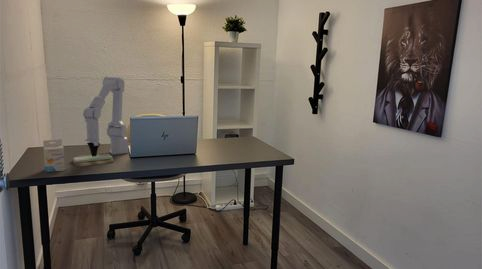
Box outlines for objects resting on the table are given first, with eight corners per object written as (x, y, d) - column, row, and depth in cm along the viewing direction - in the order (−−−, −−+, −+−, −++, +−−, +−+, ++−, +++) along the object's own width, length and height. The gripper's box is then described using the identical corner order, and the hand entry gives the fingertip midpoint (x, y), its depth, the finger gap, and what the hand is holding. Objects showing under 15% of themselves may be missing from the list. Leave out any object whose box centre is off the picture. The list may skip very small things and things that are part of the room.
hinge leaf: (108, 155, 201) (107, 152, 201) (112, 159, 193) (112, 156, 193) (73, 159, 191) (72, 156, 191) (76, 163, 183) (75, 160, 183)
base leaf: (108, 156, 201) (107, 152, 201) (113, 162, 192) (113, 157, 191) (73, 160, 191) (72, 156, 191) (76, 166, 182) (76, 161, 182)
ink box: (45, 172, 171) (43, 142, 168) (44, 169, 175) (42, 140, 172) (65, 170, 176) (63, 141, 173) (63, 167, 180) (62, 138, 177)
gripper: (81, 128, 190) (83, 153, 192) (87, 134, 178) (88, 160, 181) (96, 127, 193) (97, 152, 196) (102, 133, 182) (103, 158, 184)
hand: (94, 156), depth 189 cm, fingers closed
